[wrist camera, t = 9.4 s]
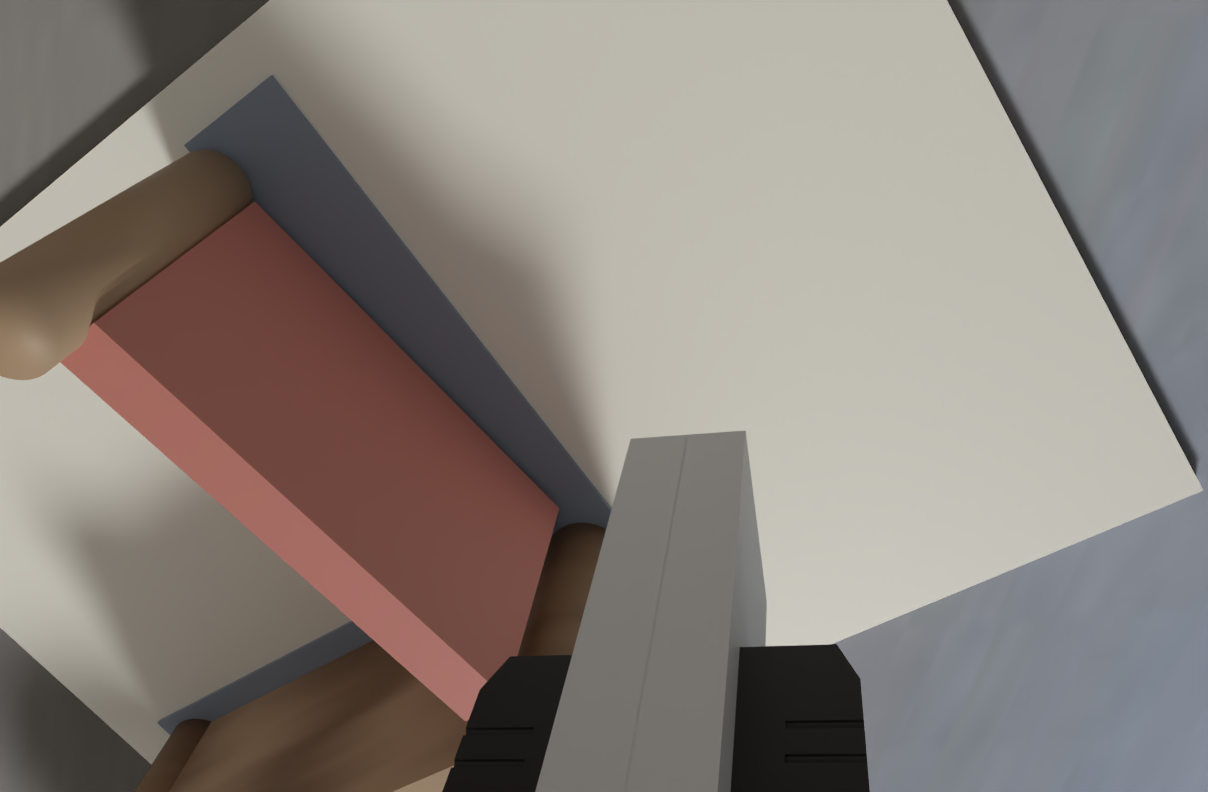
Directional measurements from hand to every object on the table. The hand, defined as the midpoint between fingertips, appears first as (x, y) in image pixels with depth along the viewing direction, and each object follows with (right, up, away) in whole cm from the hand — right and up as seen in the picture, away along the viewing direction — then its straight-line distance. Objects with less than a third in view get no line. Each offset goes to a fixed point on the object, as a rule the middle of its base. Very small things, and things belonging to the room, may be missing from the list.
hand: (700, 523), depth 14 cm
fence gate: (-6, +3, +8) cm, 10 cm away
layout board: (-5, +1, +10) cm, 11 cm away
